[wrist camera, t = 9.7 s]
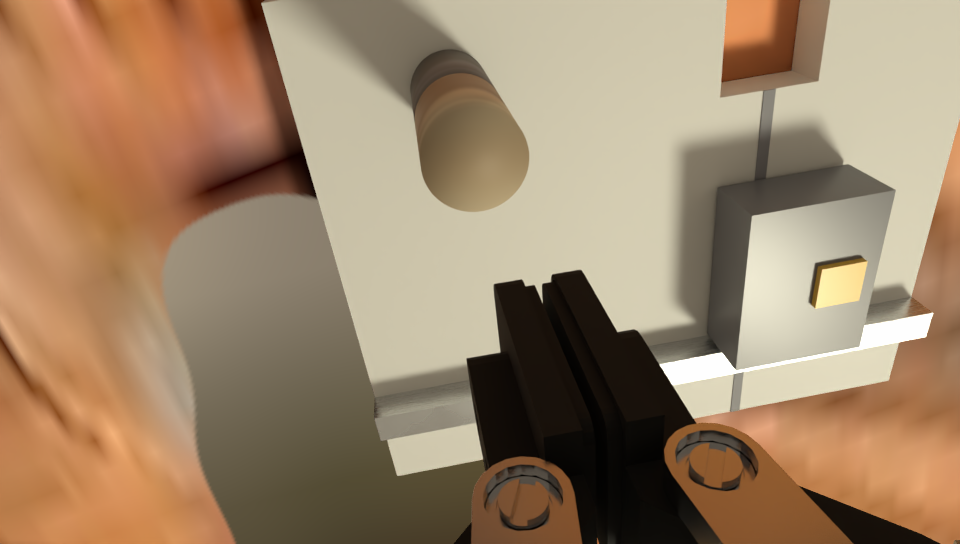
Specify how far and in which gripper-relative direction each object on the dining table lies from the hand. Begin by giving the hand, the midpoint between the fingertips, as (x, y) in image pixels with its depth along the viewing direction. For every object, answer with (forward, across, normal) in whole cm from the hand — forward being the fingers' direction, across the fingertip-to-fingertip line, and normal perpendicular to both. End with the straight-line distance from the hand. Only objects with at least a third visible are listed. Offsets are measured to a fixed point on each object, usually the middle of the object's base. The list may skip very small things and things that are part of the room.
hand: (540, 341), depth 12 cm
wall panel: (+17, -8, +7) cm, 20 cm away
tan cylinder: (+15, 0, -1) cm, 15 cm away
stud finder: (+14, -14, +8) cm, 22 cm away
